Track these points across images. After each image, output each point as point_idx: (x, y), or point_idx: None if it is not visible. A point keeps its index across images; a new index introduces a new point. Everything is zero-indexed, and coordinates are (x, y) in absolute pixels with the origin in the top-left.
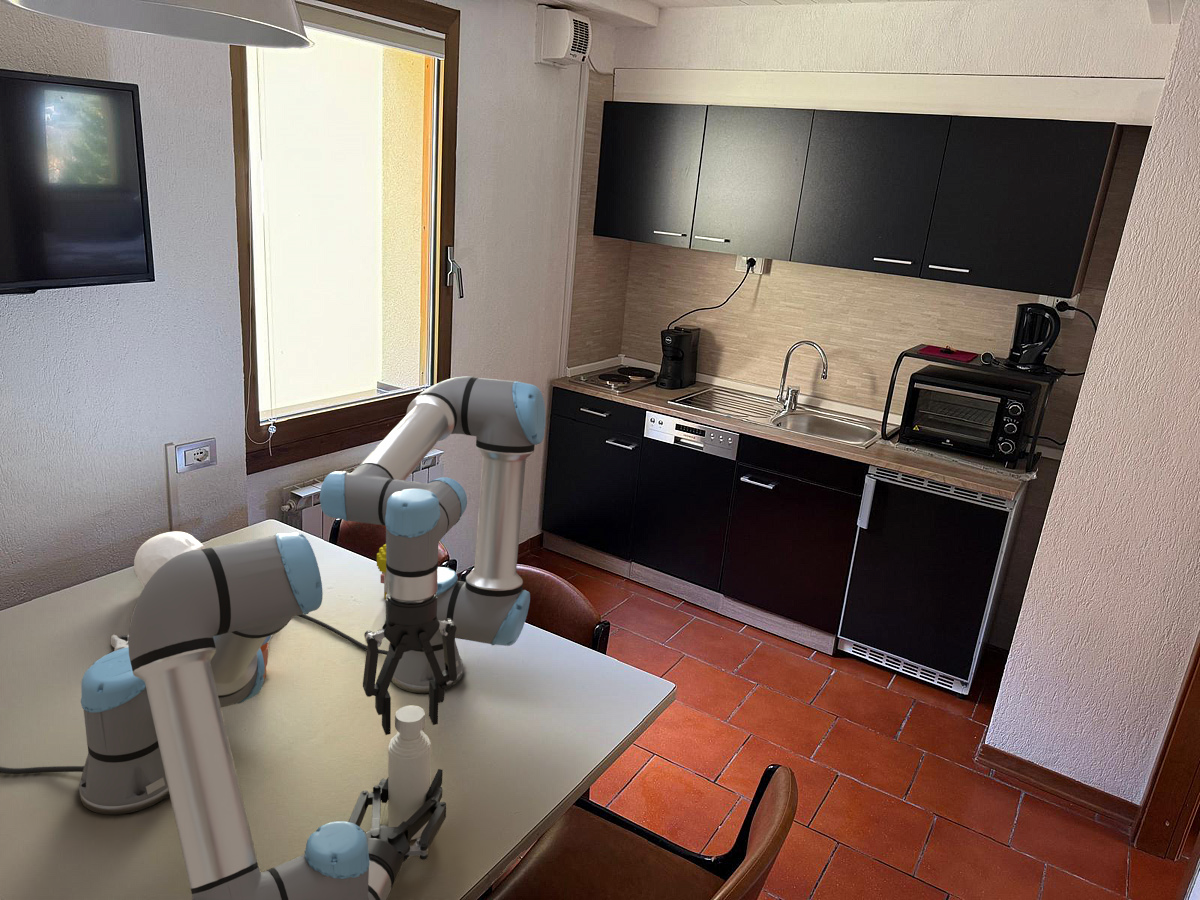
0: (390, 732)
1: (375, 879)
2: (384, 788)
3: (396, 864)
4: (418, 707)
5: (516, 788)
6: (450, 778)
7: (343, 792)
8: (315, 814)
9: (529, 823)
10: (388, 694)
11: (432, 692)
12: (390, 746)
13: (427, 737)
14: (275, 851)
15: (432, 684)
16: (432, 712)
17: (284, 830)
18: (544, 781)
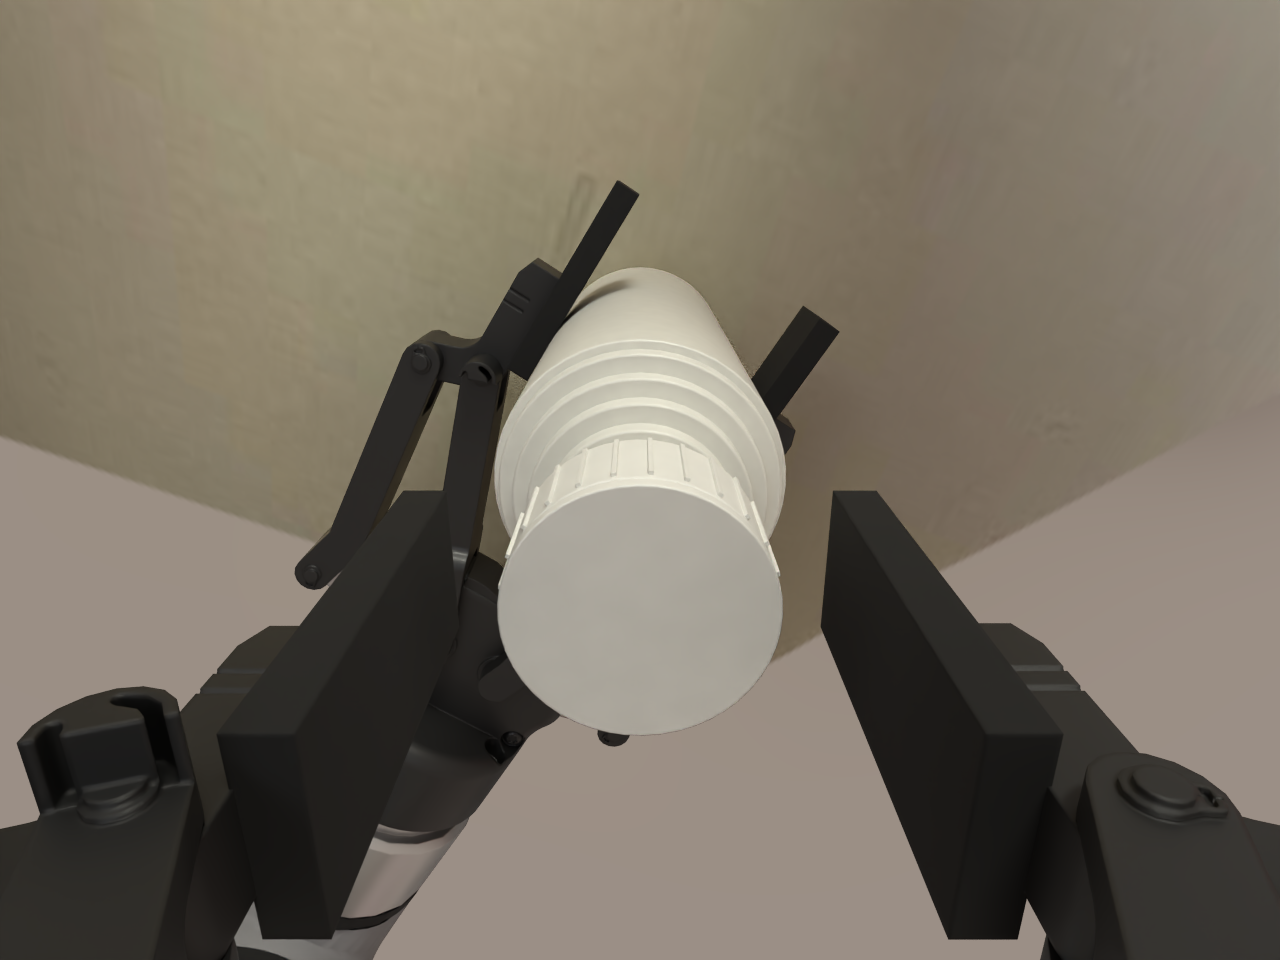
0: (455, 635)
1: (394, 891)
2: (519, 371)
3: (494, 784)
4: (747, 551)
5: (1135, 291)
6: (902, 110)
7: (406, 23)
8: (278, 137)
9: (1068, 497)
10: (307, 873)
11: (924, 808)
12: (501, 491)
13: (775, 481)
14: (131, 303)
15: (978, 843)
16: (849, 661)
17: (154, 193)
18: (1269, 291)
